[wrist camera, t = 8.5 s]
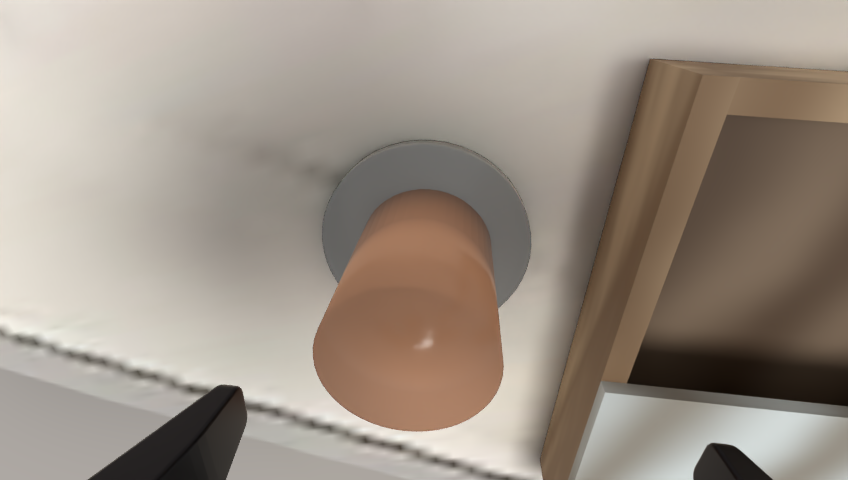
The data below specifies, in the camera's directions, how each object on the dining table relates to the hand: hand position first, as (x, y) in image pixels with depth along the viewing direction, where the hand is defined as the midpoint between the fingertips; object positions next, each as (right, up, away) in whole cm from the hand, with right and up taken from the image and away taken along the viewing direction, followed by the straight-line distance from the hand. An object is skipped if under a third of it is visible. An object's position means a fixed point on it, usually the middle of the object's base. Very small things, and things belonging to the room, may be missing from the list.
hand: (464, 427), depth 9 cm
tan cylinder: (-1, +3, +11) cm, 11 cm away
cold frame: (+15, 0, +12) cm, 19 cm away
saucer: (-1, +4, +11) cm, 12 cm away
